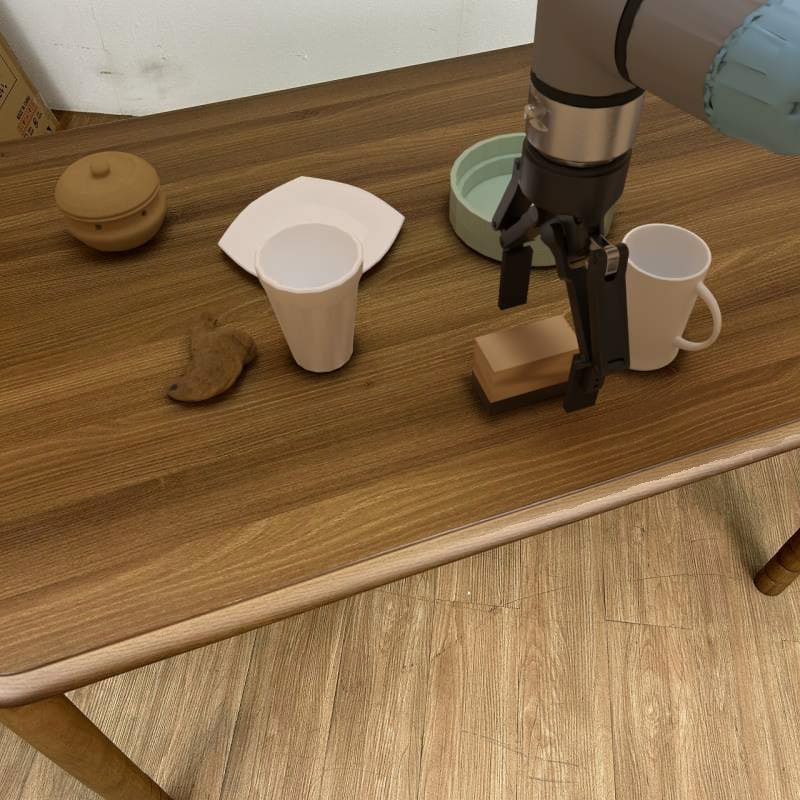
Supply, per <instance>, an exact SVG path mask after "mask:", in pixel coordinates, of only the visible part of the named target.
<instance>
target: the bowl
mask: <svg viewBox="0 0 800 800" xmlns="http://www.w3.org/2000/svg"><path fill="white" fill-rule="evenodd" d="M525 137H526V134H525V132H512V133H505V134H499V135H495V136H491V137H488V138H486V139H483V140H480V141H478V142H476V143H475V144H473V145H471V146H470V147H468V148H466V149H465V150H463V151H462V153H461V154H460V155H459V156H458V157H457V158H456V159H455V161H454V163H453V165H452V167H451V170H450V172H449V192H448V193H449V194H448V217H449V218H448V219H449V221H450V224H451V226H452V228H453V230H454V233H455V234H456V235H457V236H458V237H459V238H460V239H461V240H462V241H463V242H464V243H465V245H467V246H468V247H470V248H471V249H473V250H474V251H476V252H478V253H479V254H481V255H483V256H484V257H487V258H490V259H493V260H496V261H499V262H501V263H502V252H503V248H502V247H501V245H500V243H499V237H500V235H501V233H500V231H494V230H493V227H492V224H491V223H492V218H493V216H494V214H495V212H496V209H497V207H498V205H499V203H500V201H501V199H502V197H503V195H504V193H505V191H506V188H507V186H508V184H509V182H510V180H511V178H512V172H513V165H514V160H515V158H518V157H521V156H522V146H523V141H524V139H525ZM533 205H534V204H533V203H532V205H531V207H532V206H533ZM616 205H617V202H616V203H615V204H614V205H613V206H612V207H611V208H610V210H609V211H608V212H607V213H606V215H605V217H604V229H605V238H607V236H608V234H609V232H610V229H611V225H612V221H613V218H614V214H615V210H616ZM540 237H541V235H538V236H537V237H535V238H534V239H535V241H531V242H527V243H524V245H523V247H524V246H528V245H530V246H531V247H532V249H533V257H532V265H531V267H550V266H556V263H555V258H554V256H553V254H552V252H551V250H550V248H549V247H547V246H546V245H545V244H544V243H543V242H542V240H541V239H540ZM570 262H572V261H570ZM570 262H569V263H570Z"/></svg>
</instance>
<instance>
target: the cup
mask: <svg viewBox="0 0 800 800" xmlns="http://www.w3.org/2000/svg"><path fill="white" fill-rule="evenodd" d="M363 261H364V257H363V245H362V244H361V242H360V241H359V240H358V238H357V237H356V236H355V234H354V233H352V232H351V231H349V230H347V229H345V228H343V227H341V226H340V225H338V224H333V223H328V222H323V221H307V222H297V223H294V224H291V225H288V226H285V227H282V228H279V229H278V230H276V231H275V232H273V233H272V234H271V235H269V236H268V237H266V238H265V239H264V240H263V242H262V243H261V245H260V246H259V247H258V249H257V250H256V252H255V262H254V267H255V270H256V273H257V275H258V277H257V279H258V281H259V283H260V285H261V286H262V288H263V289H264V291H265V293H266V295H267V298H268V300H269V303H270V305H271V308H272V310H273V313H274V314H275V317H276V319H277V321H278V324H279V327H280V329H281V332H282V333H283V336H284V339H285V341H286V343H287V345H288V347H289V350H290V352H291V355H292V357H293V359H294V361H295V362H296V364H297V365H298V366H300V367H302V368H303V369H304V370H306V371H310V372H313V373H326V372H332V371H334V370H337V369H339V368H341V367H343V366H344V365H345V364H346V363H347V362H348V361H350V358H351V357H352V354H353V352H354V336H355V326H356V325H355V324H356V315H357V303H358V293H359V282H360V280H361V277H362V276H363V274H364V273H363Z"/></svg>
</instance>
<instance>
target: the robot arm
mask: <svg viewBox="0 0 800 800" xmlns="http://www.w3.org/2000/svg"><path fill="white" fill-rule="evenodd" d="M536 1H537V2H536V12H535V13H536V14H535V22H534V23H535V24H534V33H533V45H532V55H531V65H530V73H529V77H530V81H529V86H528V87H529V88H528V96H527V97H528V98H527V104H526V105H525V106H524V107H523V117H524V118H525V124H524V125H525V126H524V133H525V134H526V137H525V139H524V141H523V146H522V156H521V157H518V158H515V160H514V165H513V172H512V178H511V180H510V182H509V184H508V186H507V188H506V191H505V193H504V195H503V197H502V199H501V201H500V203H499V205H498V207H497V209H496V212H495V214H494V216H493V218H492V223H491V224H492V227H493V230H494V231H500V233H501V235H500V237H499V243H500V245H501V247H502V248H503V252H502V262H501V265H500V273H499V275H500V277H499V288H498V296H497V297H498V298H497V307H498V309H499V310H500V311H505V310H508V309H511V308H515V307H519V306H522V305H523V306H524V305H527V303H528V296H529V288H530V287H529V286H530V280H531V273H532V266H531V265H532V257H533V249H532V247H531V246H530V245H528V246H524V247H523V245H524V243H527V242H531V241H535V239H534V238H535V237H537V236H538V235H541V237H540V239H541V240H542V242H543V243H544V244H545V245H546V246H547V247H549V248H550V250H551V252H552V254H553V256H554V258H555V263H556V265H555V267H556V273H557V277H558V278H559V280H561V281H563V282H564V283H565V287H566V291H567V297H568V302H569V306H570V311H571V317H572V323H573V327H574V333H575V334H576V337H577V343H578V348H579V353H578V354H574V355H573V359H572V363H571V368H570V373H569V378H568V383H567V387H566V392H565V394H564V398H563V401H562V409H563V411H564V413H565V414H570V413H573V412H576V411H580V410H583V409H586V408H589V407H593V406H596V403H597V399H598V395H599V391H600V390H601V389H602V388H604V385H605V381H606V377H607V376H612V375H614V374H617V373H621V372H624V371H627V370H630V369H629V368H630V349H629V331H628V312H627V293H626V270H627V264H628V258H629V249H628V247H627V245H626V244H625V243H622V242H620V243H616V244H612V243H611V242H610V241H609V240H608V239H607V238H606V237H605V229H604V217H605V215H606V213H607V212H608V211H609V210H610V208H611V207H612V206H613V205H614V204H615V203H616V204H617V202H618V201H619V200H620V198H621V197H622V195H623V193H624V190H625V187H626V181H627V177H628V173H629V168H630V165H631V160H632V155H633V146H634V145H635V142H636V141H637V138H638V133H639V128H640V123H641V119H642V114H643V109H644V105H645V100H646V95H647V92H648V93H649V94H651V95H653V96H655V97H657V98H659V99H660V100H662V101H664V102H666V103H667V104H670V105H672V106H674V107H675V108H677V109H679V110H681V111H683V112H685V113H687V114H688V115H691V116H692V117H694V118H696V119H697V120H699V121H700V122H703V123H705V124H707V125H708V126H710V127H712V128H713V129H714V130H717V132H718V133H719V134H721V135H722V136H726V137H728V138H730V139H732V140H734V139H738V140H740V141H741V142H745V143H748V144H751V145H753V146H756V147H759V148H761V149H763V150H766V151H769V152H771V153H773V154H774V155H778V156H785V157H794V156H799V155H800V0H536ZM532 203H533V204H534V205H533V206H532V207H531V205H532ZM587 256H588V260H586V261H585V262H584V264H582V265H581V264H580V265H577V266H574V267H571V266H570V261H571V262H573V261H578V260H581V259H584V258H586V257H587Z"/></svg>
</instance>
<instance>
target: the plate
mask: <svg viewBox="0 0 800 800" xmlns="http://www.w3.org/2000/svg"><path fill="white" fill-rule="evenodd" d="M405 219H406V217H405V216H404V215H403V214H402V213H400V212H399V211H398V210H396V209H395V208H394V207H393V206H392V205H390V204H388V203H387V202H386V201H384V200H382V199H381V198H380V197H378V196H376V195H375V194H373V193H371V192H370V191H366V190H365V189H362V188H361V187H357V186H354V185H351V184H348V183H344V182H339V181H336V180H331V179H330V180H329V179H323V178H318V177H312V176H311V177H310V176H305V175H301V176H299V177H296V178H294V179H291V180H290V181H287V182H286V183H283V184H281V185H279V186H276V188H273V189H271V190H270V191H268V192H266V193H264V194H263V195H261V196H259V197H258V198H257V199H255V200H253V201H252V202H250V203H249V204H248V206H246V207H245V208H244V209H243V210H242V211H241V212H240V213H239V214H238V216H237V217H236V218H235V219H234V220H233V221H232V222H231V224H230V225H229V227H228V228H227V229H226V231H225V232H224V233H223V235H222V237H221V238H220V240H219V241H218V242H217V246H218V247H219V248H220V249H221V250H222V251H223V252H224V253H225V254H226V255H227V256H228V257H230V259H231V260H233V262H234V263H236V264H237V265H238V266H239V267H241V268H242V269H243V270H245V271H246V272H247V273H249V274H251V275H253V276H254V277H256V278H258V275H257V273H256V270H255V267H254V262H255V252H256V250H257V249H258V247H259V246H260V245H261V243H262V242H263V240H264V239H265V238H266V237H268V236H269V235H271V234H272V233H273V232H275V231H276V230H278V229H279V228H282V227H285V226H288V225H291V224H294V223H297V222H307V221H323V222H328V223H333V224H338V225H340V226H341V227H343V228H345V229H347V230H349V231H351V232H352V233H354V234H355V236H356V237H357V238H358V240H359V241H360V242H361V244H362V245H363V257H364V261H363V274H364V273H366V272H368V271H369V270H370V269H372V268H373V267H374V266H375V265H376V264H377V263H379V262H380V261H381V260H382V259H383V257H384V256H385V255H386V254H387V253H388V251H389V250H390V248H391V247H392V245H393V244H394V242H395V240H396V238H397V236H398V235H399V232H400V231H401V228H402V227H403V223H404V222H405Z"/></svg>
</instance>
